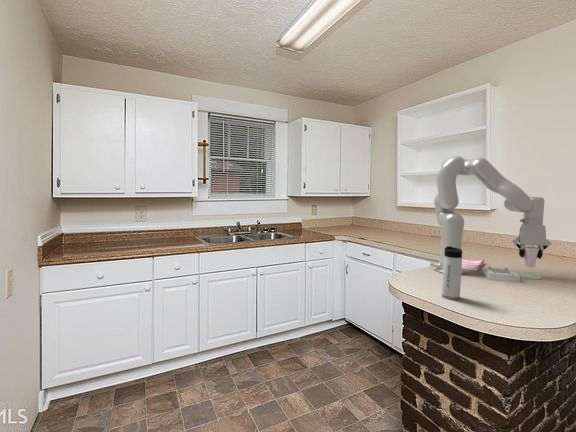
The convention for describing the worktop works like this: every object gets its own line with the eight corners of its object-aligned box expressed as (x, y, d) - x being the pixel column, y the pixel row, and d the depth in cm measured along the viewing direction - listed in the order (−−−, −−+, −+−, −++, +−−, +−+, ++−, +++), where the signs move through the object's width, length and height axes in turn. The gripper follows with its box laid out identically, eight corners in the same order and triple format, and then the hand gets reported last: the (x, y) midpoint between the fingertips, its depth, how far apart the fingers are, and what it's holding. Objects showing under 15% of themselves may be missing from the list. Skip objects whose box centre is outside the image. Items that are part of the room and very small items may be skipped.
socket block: (489, 279, 144) (489, 271, 143) (483, 273, 155) (483, 265, 155) (519, 282, 139) (519, 274, 139) (510, 275, 150) (511, 267, 150)
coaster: (520, 278, 147) (520, 276, 147) (513, 272, 156) (513, 271, 156) (545, 280, 143) (545, 279, 143) (536, 275, 152) (536, 273, 152)
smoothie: (531, 268, 145) (533, 240, 144) (518, 265, 151) (520, 238, 150) (541, 267, 147) (543, 239, 145) (527, 264, 153) (529, 237, 152)
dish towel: (484, 264, 175) (485, 258, 175) (477, 272, 158) (477, 266, 158) (452, 259, 187) (452, 254, 186) (442, 266, 169) (442, 260, 169)
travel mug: (453, 294, 123) (456, 246, 121) (463, 300, 116) (466, 249, 114) (438, 294, 123) (440, 246, 121) (447, 300, 116) (450, 249, 114)
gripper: (514, 221, 147) (511, 257, 148) (558, 223, 140) (555, 260, 142) (509, 220, 154) (507, 254, 155) (551, 221, 147) (548, 257, 149)
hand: (530, 257), depth 149 cm, fingers closed on smoothie, 6 cm apart
